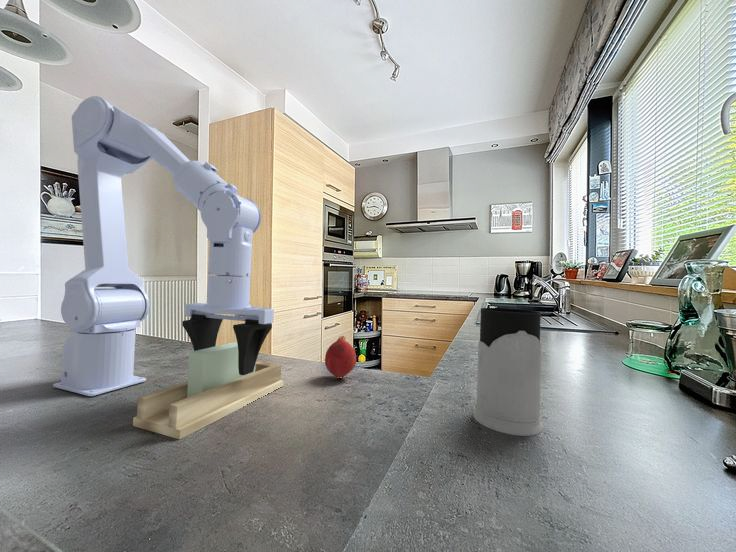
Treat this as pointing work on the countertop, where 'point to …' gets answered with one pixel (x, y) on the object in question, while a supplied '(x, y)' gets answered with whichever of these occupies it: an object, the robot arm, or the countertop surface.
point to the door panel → (212, 368)
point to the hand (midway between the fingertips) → (225, 369)
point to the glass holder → (509, 371)
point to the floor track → (203, 402)
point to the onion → (340, 358)
